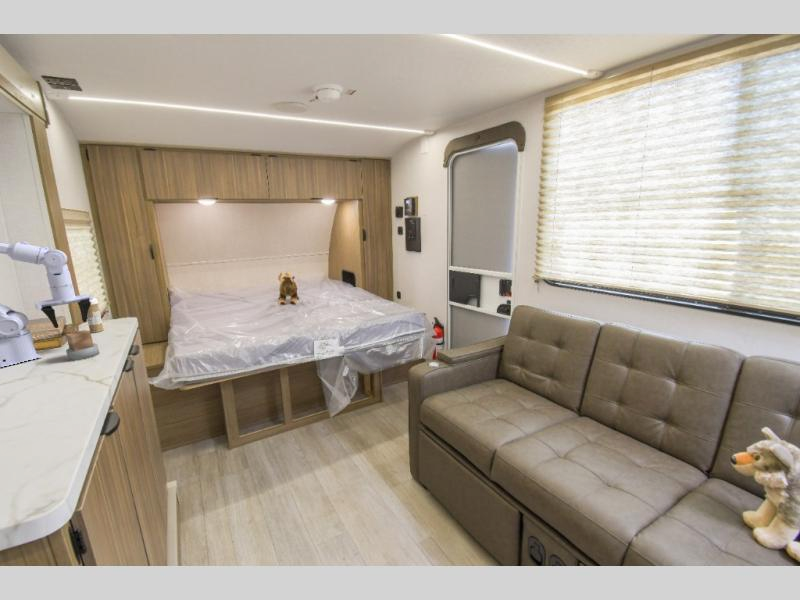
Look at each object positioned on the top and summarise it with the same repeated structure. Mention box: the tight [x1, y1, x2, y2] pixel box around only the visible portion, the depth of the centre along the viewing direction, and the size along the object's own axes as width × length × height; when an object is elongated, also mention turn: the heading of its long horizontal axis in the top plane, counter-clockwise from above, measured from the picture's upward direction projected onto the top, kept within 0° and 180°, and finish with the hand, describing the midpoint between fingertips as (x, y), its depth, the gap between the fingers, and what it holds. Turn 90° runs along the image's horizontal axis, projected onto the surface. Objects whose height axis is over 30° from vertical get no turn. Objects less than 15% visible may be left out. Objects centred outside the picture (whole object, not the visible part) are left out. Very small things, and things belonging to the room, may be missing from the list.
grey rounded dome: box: [65, 342, 100, 361], centre depth 122 cm, size 8×8×3 cm
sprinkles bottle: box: [87, 297, 104, 334], centre depth 147 cm, size 5×5×14 cm
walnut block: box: [65, 329, 94, 351], centre depth 121 cm, size 5×5×5 cm
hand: (71, 324), depth 126 cm, fingers open, 7 cm apart
